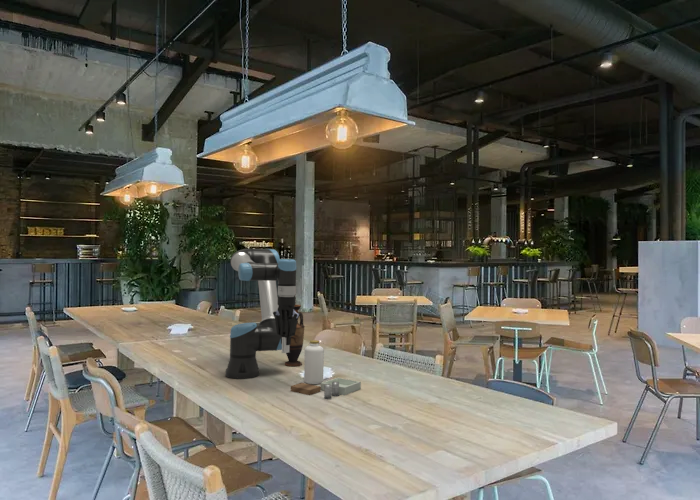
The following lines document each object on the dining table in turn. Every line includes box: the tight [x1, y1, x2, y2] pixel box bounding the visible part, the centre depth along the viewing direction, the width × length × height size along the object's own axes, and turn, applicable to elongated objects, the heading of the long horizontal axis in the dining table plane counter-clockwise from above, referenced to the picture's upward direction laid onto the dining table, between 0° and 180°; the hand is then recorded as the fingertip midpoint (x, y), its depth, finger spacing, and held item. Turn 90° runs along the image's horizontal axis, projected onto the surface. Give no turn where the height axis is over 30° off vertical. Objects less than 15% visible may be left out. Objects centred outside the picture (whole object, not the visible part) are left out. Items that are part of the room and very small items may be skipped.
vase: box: [284, 304, 306, 367], centre depth 252 cm, size 11×11×30 cm
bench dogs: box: [323, 382, 340, 400], centre depth 196 cm, size 3×8×5 cm, turn 147°
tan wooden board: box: [290, 382, 321, 396], centre depth 203 cm, size 10×7×2 cm
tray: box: [320, 377, 362, 396], centre depth 206 cm, size 12×12×3 cm
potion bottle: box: [303, 339, 325, 385], centre depth 217 cm, size 8×8×18 cm
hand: (285, 352), depth 209 cm, fingers closed
